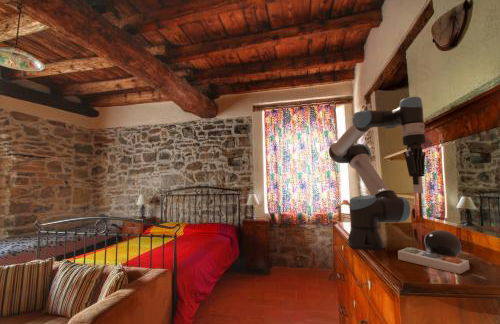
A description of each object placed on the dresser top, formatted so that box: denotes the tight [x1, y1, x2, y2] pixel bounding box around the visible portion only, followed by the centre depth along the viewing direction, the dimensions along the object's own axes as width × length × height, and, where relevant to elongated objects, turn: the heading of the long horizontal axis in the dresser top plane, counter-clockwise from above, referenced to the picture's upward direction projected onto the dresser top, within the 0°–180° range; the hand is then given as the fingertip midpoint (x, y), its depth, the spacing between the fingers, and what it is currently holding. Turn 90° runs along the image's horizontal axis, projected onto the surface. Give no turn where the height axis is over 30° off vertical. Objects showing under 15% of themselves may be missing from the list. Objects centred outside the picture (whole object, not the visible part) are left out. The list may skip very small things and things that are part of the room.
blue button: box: [423, 250, 438, 259], centre depth 81 cm, size 4×4×2 cm
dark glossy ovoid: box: [423, 229, 462, 257], centre depth 85 cm, size 10×10×15 cm
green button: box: [404, 246, 419, 254], centre depth 86 cm, size 4×4×2 cm
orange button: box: [444, 256, 461, 264], centre depth 75 cm, size 4×4×2 cm
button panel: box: [397, 248, 470, 274], centre depth 81 cm, size 18×8×3 cm, turn 30°
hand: (418, 192), depth 92 cm, fingers closed
